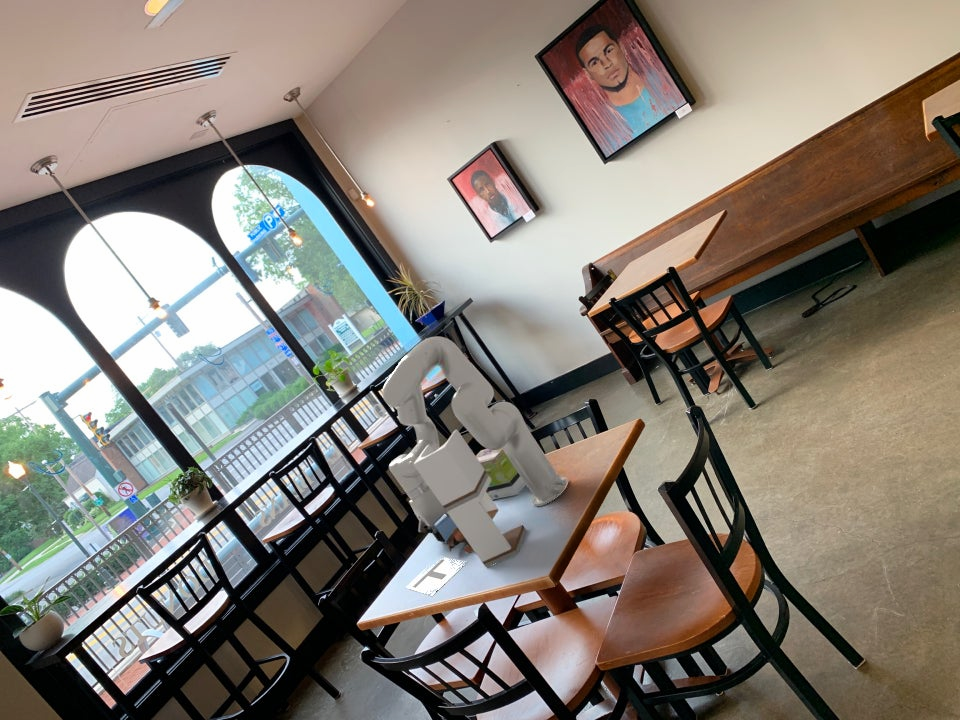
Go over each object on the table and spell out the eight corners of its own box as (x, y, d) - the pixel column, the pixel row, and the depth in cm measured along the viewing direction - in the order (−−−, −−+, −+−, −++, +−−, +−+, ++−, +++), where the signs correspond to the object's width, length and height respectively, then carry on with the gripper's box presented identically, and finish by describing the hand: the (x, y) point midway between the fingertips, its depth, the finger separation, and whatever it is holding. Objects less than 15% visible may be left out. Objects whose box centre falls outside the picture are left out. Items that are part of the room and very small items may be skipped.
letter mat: (467, 562, 208) (467, 561, 208) (432, 596, 202) (431, 595, 202) (439, 556, 226) (438, 556, 226) (405, 587, 219) (405, 587, 219)
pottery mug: (462, 562, 212) (441, 544, 214) (467, 563, 221) (446, 546, 223) (488, 529, 214) (467, 511, 216) (492, 532, 222) (471, 514, 225)
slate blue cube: (462, 530, 234) (451, 516, 233) (448, 543, 231) (438, 528, 230) (454, 529, 239) (443, 515, 238) (441, 542, 237) (430, 527, 236)
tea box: (488, 502, 243) (463, 466, 241) (504, 484, 250) (480, 449, 248) (518, 495, 232) (492, 458, 230) (534, 476, 239) (509, 440, 237)
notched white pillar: (518, 553, 193) (444, 447, 188) (486, 568, 197) (413, 464, 192) (526, 530, 203) (456, 429, 198) (496, 544, 207) (426, 445, 202)
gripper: (433, 473, 240) (463, 516, 242) (394, 507, 232) (425, 551, 234) (442, 472, 233) (474, 517, 236) (402, 507, 225) (435, 553, 228)
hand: (449, 533), depth 235 cm, fingers closed on slate blue cube, 6 cm apart
